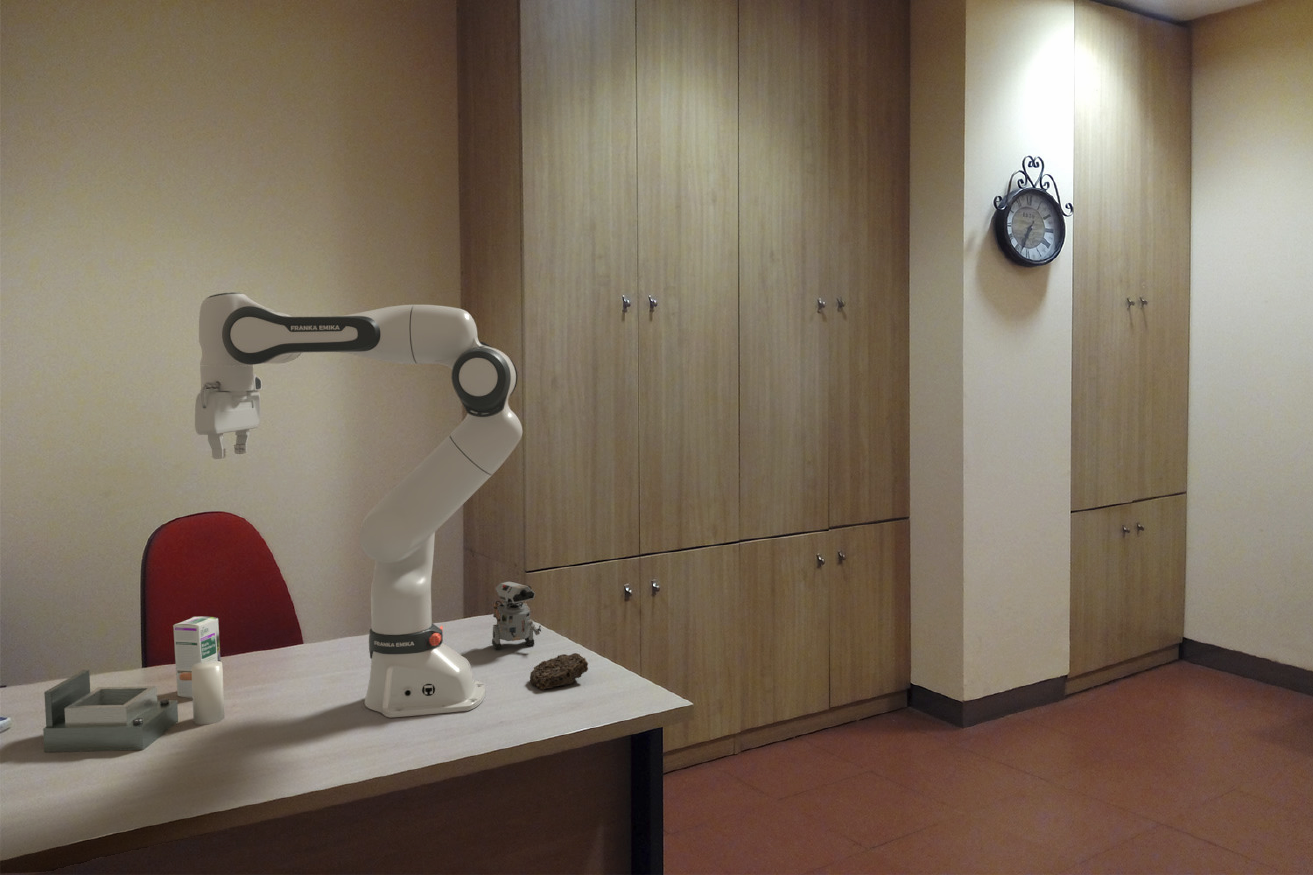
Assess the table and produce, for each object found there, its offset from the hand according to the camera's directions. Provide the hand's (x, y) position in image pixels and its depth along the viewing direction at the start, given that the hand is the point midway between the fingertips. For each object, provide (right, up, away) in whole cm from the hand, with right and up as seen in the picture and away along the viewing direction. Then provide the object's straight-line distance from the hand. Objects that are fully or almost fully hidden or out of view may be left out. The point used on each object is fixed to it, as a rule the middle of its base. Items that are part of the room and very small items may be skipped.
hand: (230, 456), depth 167 cm
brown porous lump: (+59, -46, +15) cm, 77 cm away
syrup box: (-10, -47, +9) cm, 49 cm away
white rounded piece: (-3, -48, -4) cm, 48 cm away
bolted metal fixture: (-14, -48, -12) cm, 52 cm away
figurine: (+47, -45, +37) cm, 75 cm away
